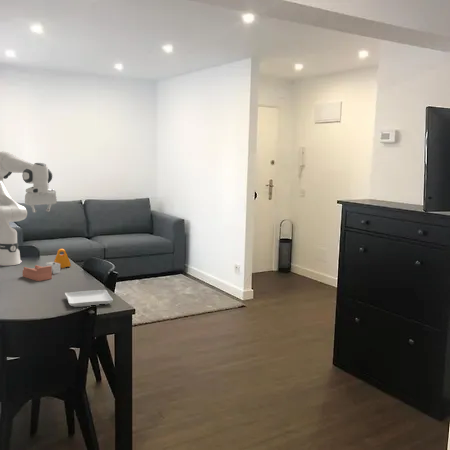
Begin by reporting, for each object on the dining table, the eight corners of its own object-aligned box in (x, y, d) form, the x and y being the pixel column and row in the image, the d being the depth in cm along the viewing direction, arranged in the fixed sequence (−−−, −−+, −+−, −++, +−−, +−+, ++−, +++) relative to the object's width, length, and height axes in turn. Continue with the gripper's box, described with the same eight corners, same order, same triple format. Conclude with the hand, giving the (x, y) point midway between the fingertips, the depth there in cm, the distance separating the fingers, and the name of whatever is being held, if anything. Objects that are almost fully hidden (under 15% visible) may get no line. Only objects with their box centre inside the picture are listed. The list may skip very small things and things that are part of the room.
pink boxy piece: (22, 276, 299) (22, 264, 298) (36, 274, 306) (36, 262, 305) (38, 281, 289) (38, 268, 288) (51, 278, 297) (51, 266, 296)
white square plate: (69, 309, 238) (69, 302, 238) (64, 298, 258) (64, 291, 257) (113, 306, 247) (113, 299, 246) (105, 295, 266) (105, 289, 266)
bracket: (69, 265, 336) (69, 247, 335) (70, 267, 330) (70, 249, 328) (52, 265, 332) (52, 248, 331) (53, 268, 326) (53, 250, 324)
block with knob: (45, 272, 314) (45, 262, 313) (52, 270, 318) (52, 261, 317) (53, 274, 309) (53, 264, 308) (60, 273, 313) (60, 263, 312)
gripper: (52, 189, 318) (53, 210, 320) (23, 189, 302) (23, 212, 303) (58, 189, 314) (58, 211, 316) (29, 190, 298) (29, 213, 300)
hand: (41, 211), depth 309 cm, fingers open, 8 cm apart
